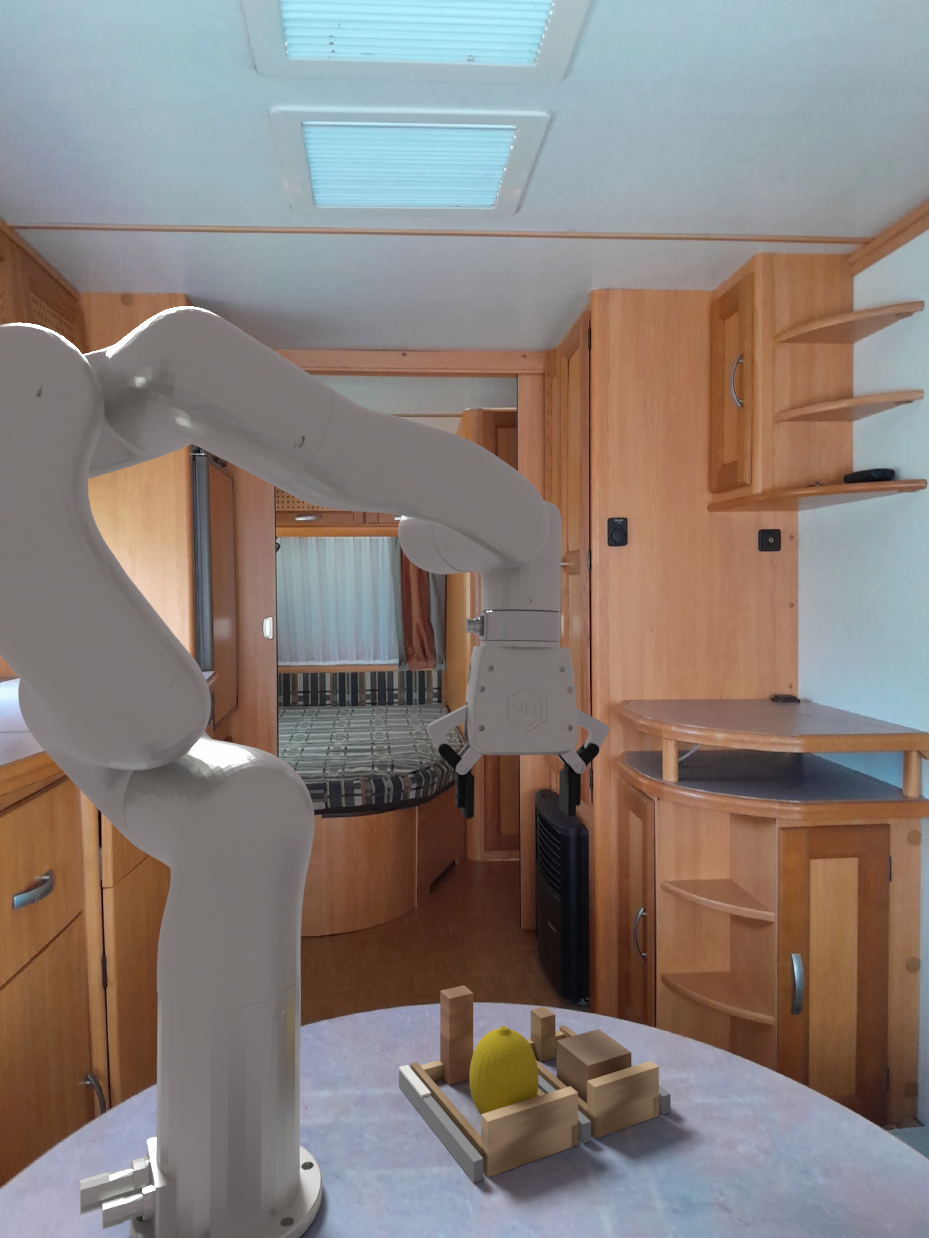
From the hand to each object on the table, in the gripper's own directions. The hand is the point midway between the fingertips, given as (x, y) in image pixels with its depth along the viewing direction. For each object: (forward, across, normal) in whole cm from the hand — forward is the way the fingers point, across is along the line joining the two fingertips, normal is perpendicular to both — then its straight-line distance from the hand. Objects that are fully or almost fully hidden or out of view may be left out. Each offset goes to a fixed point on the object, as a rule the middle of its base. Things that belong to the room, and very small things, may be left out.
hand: (517, 814), depth 74 cm
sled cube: (+23, +5, -5) cm, 24 cm away
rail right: (+23, +9, -4) cm, 25 cm away
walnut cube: (+23, +5, -7) cm, 24 cm away
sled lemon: (+23, -4, -7) cm, 24 cm away
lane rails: (+23, -4, -7) cm, 24 cm away
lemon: (+23, -3, -10) cm, 25 cm away
